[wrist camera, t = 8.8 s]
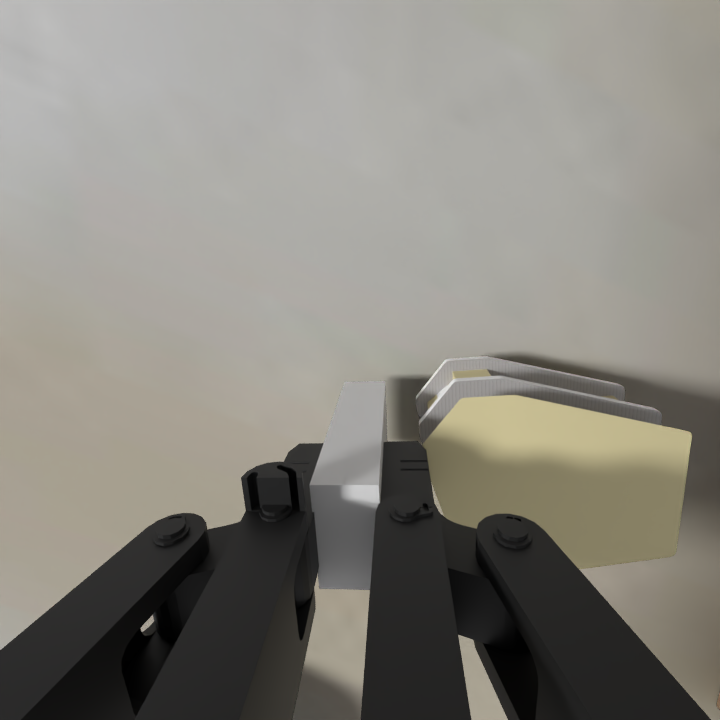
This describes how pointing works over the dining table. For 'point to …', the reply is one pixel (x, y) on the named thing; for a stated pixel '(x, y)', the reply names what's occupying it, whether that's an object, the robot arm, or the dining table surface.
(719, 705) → the bar
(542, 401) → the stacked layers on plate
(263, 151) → the dining table surface
